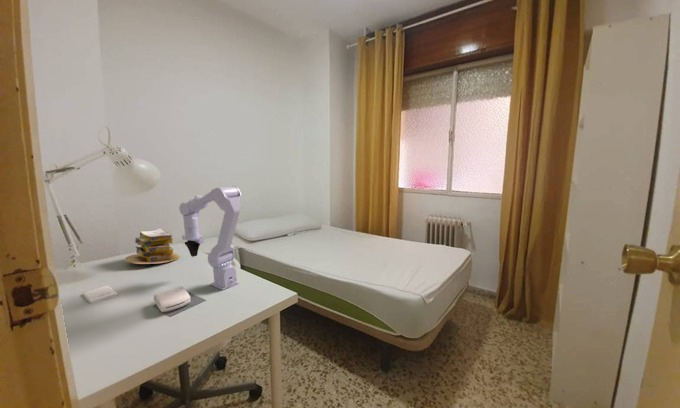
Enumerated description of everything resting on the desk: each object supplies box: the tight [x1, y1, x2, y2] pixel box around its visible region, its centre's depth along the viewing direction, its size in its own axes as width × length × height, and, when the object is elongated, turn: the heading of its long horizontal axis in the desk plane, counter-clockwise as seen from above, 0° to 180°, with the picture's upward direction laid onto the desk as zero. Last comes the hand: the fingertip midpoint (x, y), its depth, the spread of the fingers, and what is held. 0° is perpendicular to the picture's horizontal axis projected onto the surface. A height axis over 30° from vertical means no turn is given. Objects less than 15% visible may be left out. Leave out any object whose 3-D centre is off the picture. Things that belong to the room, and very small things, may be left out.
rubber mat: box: [152, 291, 207, 318], centre depth 100 cm, size 13×13×1 cm
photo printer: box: [153, 286, 191, 313], centre depth 99 cm, size 10×4×12 cm
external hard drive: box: [82, 285, 118, 305], centre depth 107 cm, size 2×8×12 cm
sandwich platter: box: [124, 228, 181, 265], centre depth 146 cm, size 25×25×17 cm
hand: (194, 255), depth 123 cm, fingers closed
